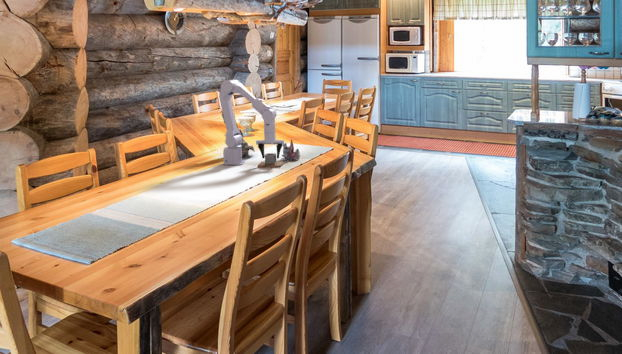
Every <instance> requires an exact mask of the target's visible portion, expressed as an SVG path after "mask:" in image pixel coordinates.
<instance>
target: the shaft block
mask: <svg viewBox="0 0 622 354" xmlns="http://www.w3.org/2000/svg"><path fill="white" fill-rule="evenodd" d="M284 165H285V162H284V161H276V164H275V165H265V161H261V162H260V163H259V164H257V168H266V167H281V166H282V167H283V166H284ZM282 167H281V168H282Z"/></svg>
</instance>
